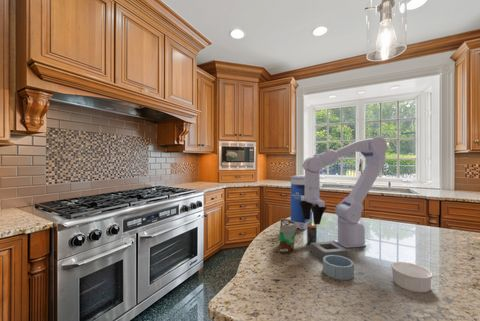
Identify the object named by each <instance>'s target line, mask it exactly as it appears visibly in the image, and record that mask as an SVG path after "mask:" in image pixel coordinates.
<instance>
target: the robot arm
mask: <svg viewBox="0 0 480 321" xmlns="http://www.w3.org/2000/svg"><path fill="white" fill-rule="evenodd" d="M388 149H389V147H388V144H387V142H386V139H385V138H383V137H381V136H375V137H372V138H370V137H369V138H363V139H360V140H357V141H354V142H351V143H349V144H347V145H345V146H342V147H341V148H338V149H336V150H334V149H331V148H330V149H329V148H326V149H324V150H323V152H320V153H318V154H317V153H315V154H313V156H312V157H307V158H305V159H304V161H303V163H302V167H303V170H304V175H305V196H301V201H302V202H299V204H300V206H301V208H302V212H303V216H304V219H310V213H311V209H312V221H313V224H316V225H320V224H321V223H322V222H321V221H322V219H323V218H322V217H323V215H324V213H325V212H326V210H327V206H326V203H325V201H324V200H322V199H321V198H320V196H321V195H320V193H321V192H320V188H321V187H320V186H321V185H320V171H321V170H322V169H324V168H326V167H328V166H331V165H334V164H337V162H338V161H339V159H340V158H342V157H344V156H347V155H351V154H353V153H357V152H360V153H361V155H362V156H363V157H364V158H365V161H366V163H367V164H366V165H365V167H364V169H363V170H362V172H361V174H360V176H359V177H358V179H357V181H356V183H355V184H354V186H353V187H352V189H351V191H350V192H349V195H348V196H346V197H344V198H343V199H342V200H341V202H340V203H338V204H337V205H336V206H335V209H334V212H335V215H336V216H337V239H332V242H334V243H336V244H338V245H340V246H342V247H343V248H345V249H348V248H359V247H367V244H366V237H365V235H366V234H365V233H366V232H365V225H364V224H363V223H362V222H361V221H360V220H361V218H362V212H363V210H364V206H363V201H364V200H365V198H366V197H367V194H368V193H369V191H370V190H371V188H372V186H373V185H374V183H375V182H376V180H377V178H378V176H379V175H380V173H381V172H382V170H383V168H384V166H385V163H386V153H387V151H388Z"/></svg>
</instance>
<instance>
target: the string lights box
mask: <svg viewBox="0 0 480 321" xmlns="http://www.w3.org/2000/svg"><path fill="white" fill-rule="evenodd" d="M301 196H305V174H298V175H290V220H292V221H294V222H295V224H296V226H297V228H299V229H298V230H303V229H305V230H307V224H308V223H313V212H312V209H311V213H310V219H304V216H303V212H302V208H301V206H300V204H299V202H302V201H301Z"/></svg>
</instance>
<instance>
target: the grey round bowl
mask: <svg viewBox="0 0 480 321" xmlns="http://www.w3.org/2000/svg"><path fill="white" fill-rule="evenodd" d="M354 271H355V263H354V261H353V260H351V259H350V258H349V257H348V258H346V257H342V256H337V255H327V256H325V257H323V260H322V273H324V275H326V276H327V277H330V278H332V279H335V280H342V281H346V280H352V278H354V277H355V272H354Z"/></svg>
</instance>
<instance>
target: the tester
mask: <svg viewBox="0 0 480 321" xmlns="http://www.w3.org/2000/svg"><path fill="white" fill-rule="evenodd" d="M309 247H310V248H309V251H310V252H311V253H312V254H313V255H315V256H316V257H317V258H319V259H320V260H322V261H323V257H325V256H327V255H337V256H342V257H346V258H348V259H349V249H348V248H345V247H343V246H341V245H339V244H337V243H336V242H334V241H333V240H330V241H320V242H318V241H317V242H316V243H310V245H309Z"/></svg>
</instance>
